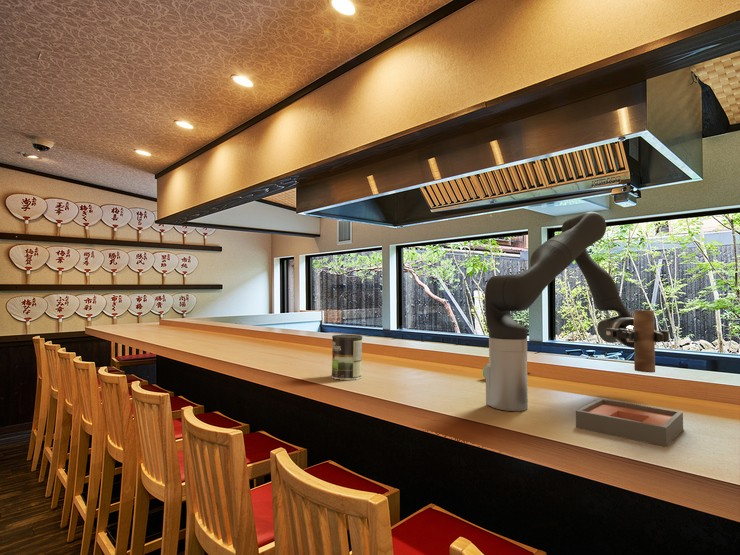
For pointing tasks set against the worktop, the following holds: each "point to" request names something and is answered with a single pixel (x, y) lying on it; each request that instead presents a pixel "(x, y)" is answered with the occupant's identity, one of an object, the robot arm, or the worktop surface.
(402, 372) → the worktop surface
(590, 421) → the bore box
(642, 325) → the dowel
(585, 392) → the worktop surface
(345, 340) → the coffee can
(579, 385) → the worktop surface
